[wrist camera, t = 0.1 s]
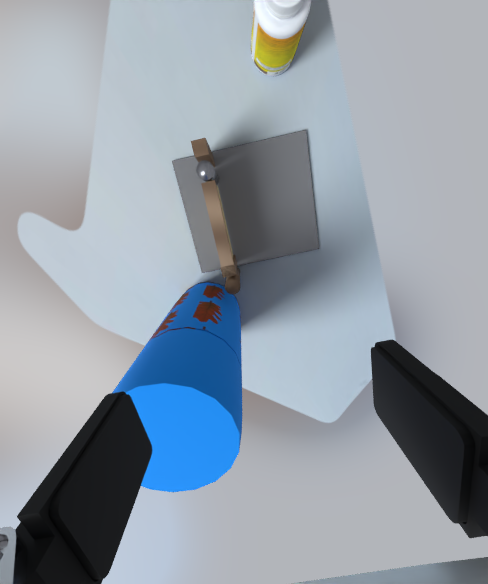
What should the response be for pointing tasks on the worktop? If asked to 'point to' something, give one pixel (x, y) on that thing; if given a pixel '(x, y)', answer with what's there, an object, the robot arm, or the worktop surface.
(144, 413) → the thermos
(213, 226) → the gate
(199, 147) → the gate frame
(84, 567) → the robot arm
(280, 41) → the supplement bottle
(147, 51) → the worktop surface
